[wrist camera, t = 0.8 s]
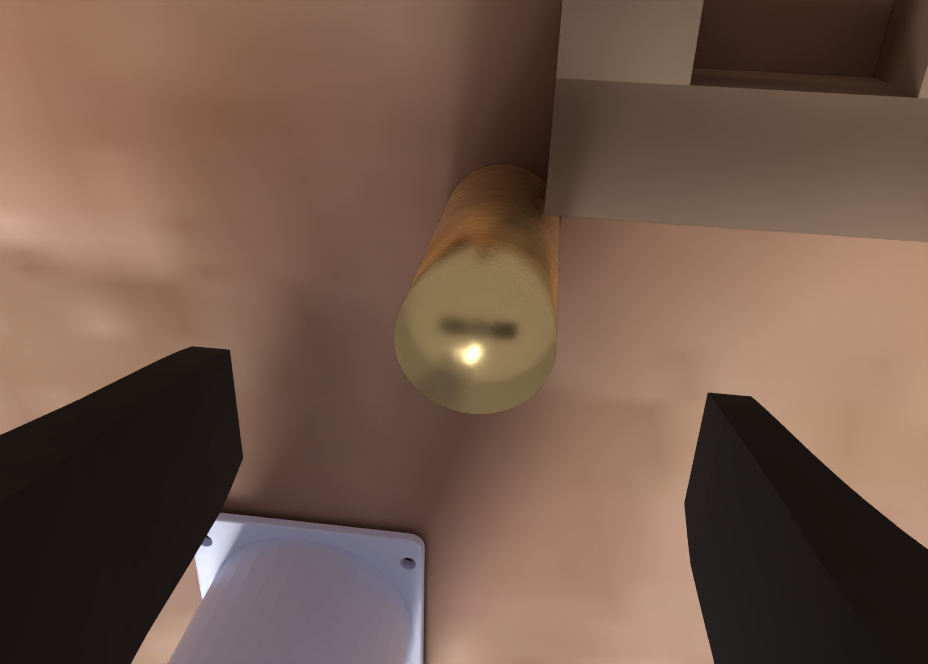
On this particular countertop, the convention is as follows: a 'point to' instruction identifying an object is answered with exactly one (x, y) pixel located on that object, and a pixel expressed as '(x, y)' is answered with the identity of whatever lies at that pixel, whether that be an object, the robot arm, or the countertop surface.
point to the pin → (484, 296)
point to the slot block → (734, 130)
